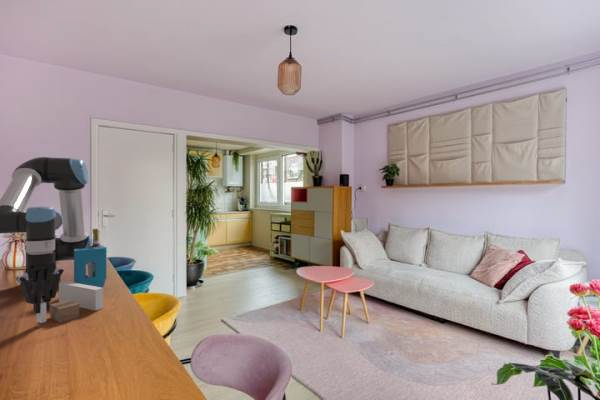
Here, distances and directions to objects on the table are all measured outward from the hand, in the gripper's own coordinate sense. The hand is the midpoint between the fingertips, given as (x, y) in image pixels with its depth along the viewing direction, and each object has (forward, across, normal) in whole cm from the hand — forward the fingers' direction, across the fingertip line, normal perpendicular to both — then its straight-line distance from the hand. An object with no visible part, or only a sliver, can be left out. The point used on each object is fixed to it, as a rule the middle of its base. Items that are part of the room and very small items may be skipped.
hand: (41, 321), depth 103 cm
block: (+2, +29, +19) cm, 35 cm away
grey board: (+1, +17, +7) cm, 19 cm away
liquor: (+2, +35, +24) cm, 43 cm away
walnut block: (+2, +7, 0) cm, 7 cm away
